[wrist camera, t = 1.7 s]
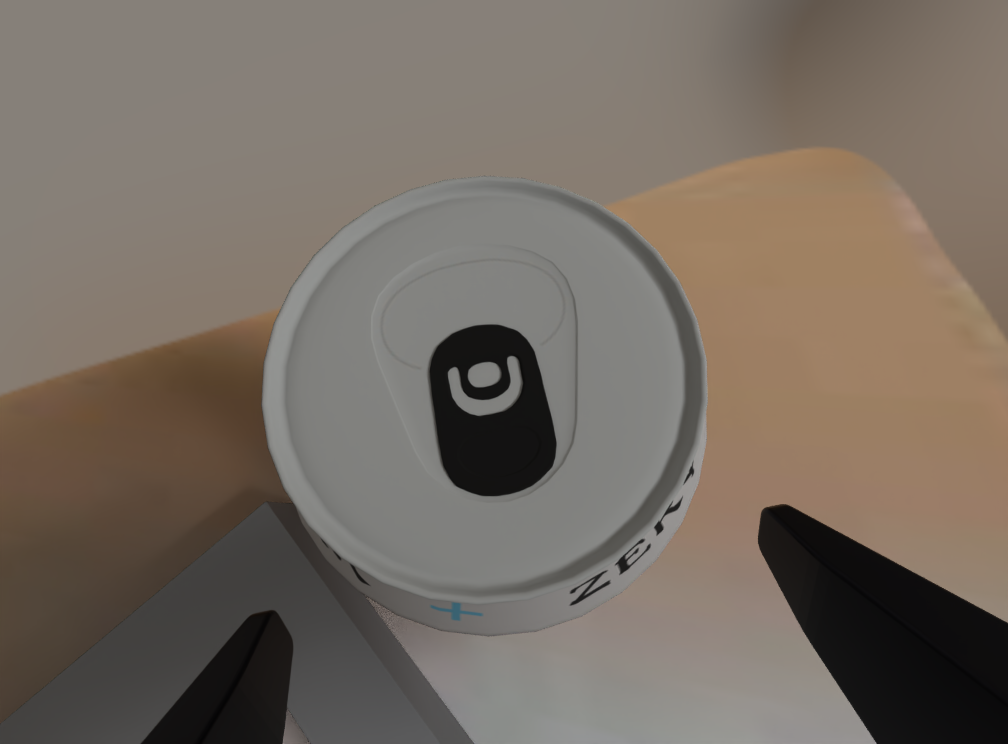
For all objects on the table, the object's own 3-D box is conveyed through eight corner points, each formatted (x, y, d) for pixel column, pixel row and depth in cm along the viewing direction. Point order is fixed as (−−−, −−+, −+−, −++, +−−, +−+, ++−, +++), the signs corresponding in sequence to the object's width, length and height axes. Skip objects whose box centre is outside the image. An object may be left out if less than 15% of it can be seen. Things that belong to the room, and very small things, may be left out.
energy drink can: (564, 393, 21) (670, 98, 6) (600, 541, 19) (863, 603, 4) (424, 421, 20) (201, 183, 6) (447, 572, 19) (206, 746, 4)
